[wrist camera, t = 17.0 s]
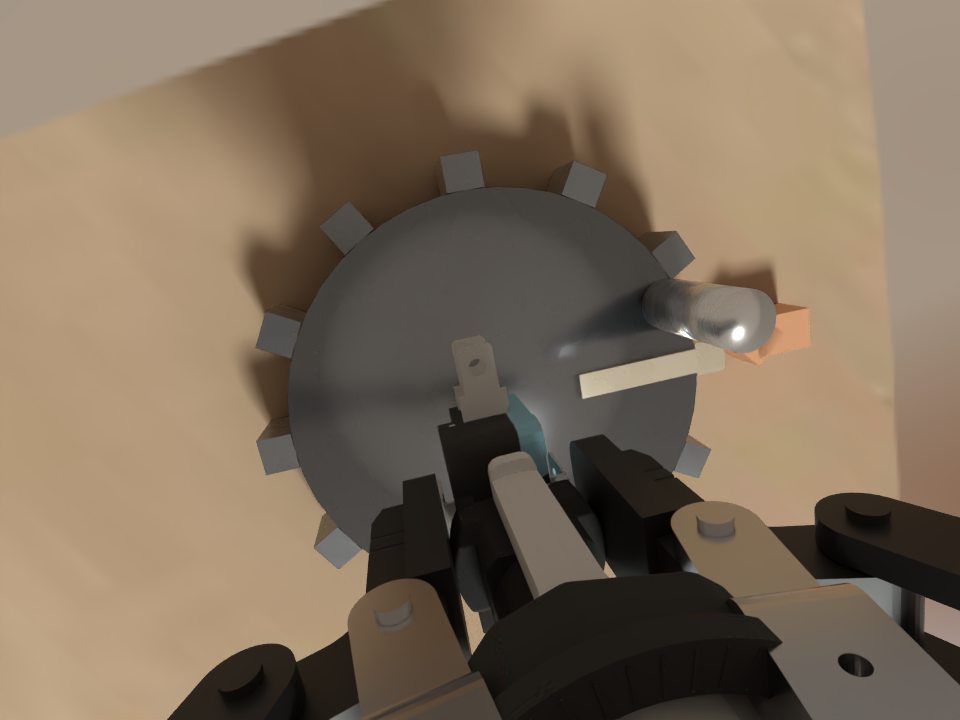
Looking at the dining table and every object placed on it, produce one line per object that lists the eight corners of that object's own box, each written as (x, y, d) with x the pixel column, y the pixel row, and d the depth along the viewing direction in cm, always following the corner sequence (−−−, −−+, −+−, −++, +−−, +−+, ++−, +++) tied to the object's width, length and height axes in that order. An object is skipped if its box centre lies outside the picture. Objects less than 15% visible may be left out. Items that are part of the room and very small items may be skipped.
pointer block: (709, 362, 20) (733, 371, 19) (705, 311, 20) (729, 316, 18) (780, 346, 20) (810, 354, 19) (778, 295, 20) (808, 299, 18)
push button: (358, 357, 13) (257, 723, 3) (570, 311, 13) (1056, 490, 4) (418, 594, 14) (477, 1330, 5) (605, 543, 15) (1004, 1096, 5)
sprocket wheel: (330, 622, 19) (303, 782, 14) (208, 205, 16) (102, 183, 10) (707, 523, 21) (825, 628, 15) (672, 125, 18) (807, 67, 12)
